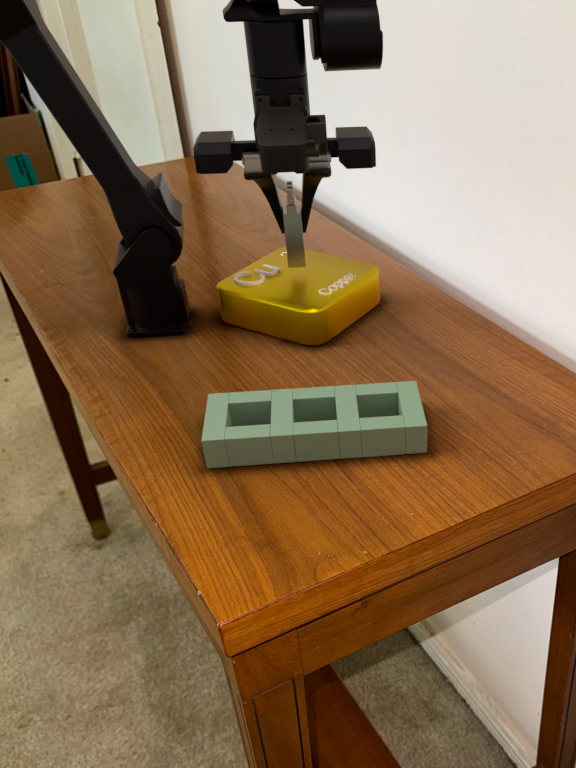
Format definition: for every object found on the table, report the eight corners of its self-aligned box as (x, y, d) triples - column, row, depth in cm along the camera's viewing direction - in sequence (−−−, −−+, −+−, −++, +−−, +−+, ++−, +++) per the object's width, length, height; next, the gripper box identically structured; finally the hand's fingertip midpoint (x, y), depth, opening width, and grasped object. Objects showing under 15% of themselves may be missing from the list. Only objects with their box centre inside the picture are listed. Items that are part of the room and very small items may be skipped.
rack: (207, 468, 68) (201, 440, 67) (213, 420, 74) (208, 393, 72) (426, 453, 70) (427, 425, 68) (416, 406, 76) (416, 380, 74)
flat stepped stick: (288, 269, 87) (280, 191, 82) (288, 257, 90) (280, 180, 84) (305, 268, 87) (298, 190, 82) (305, 256, 90) (298, 180, 84)
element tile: (318, 350, 85) (315, 309, 82) (214, 321, 90) (207, 282, 87) (386, 300, 95) (385, 261, 92) (288, 276, 100) (284, 239, 97)
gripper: (174, 94, 69) (204, 263, 80) (378, 88, 71) (382, 255, 81) (186, 69, 77) (212, 226, 88) (369, 65, 79) (373, 219, 89)
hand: (293, 232), depth 86 cm, fingers closed on flat stepped stick, 2 cm apart
